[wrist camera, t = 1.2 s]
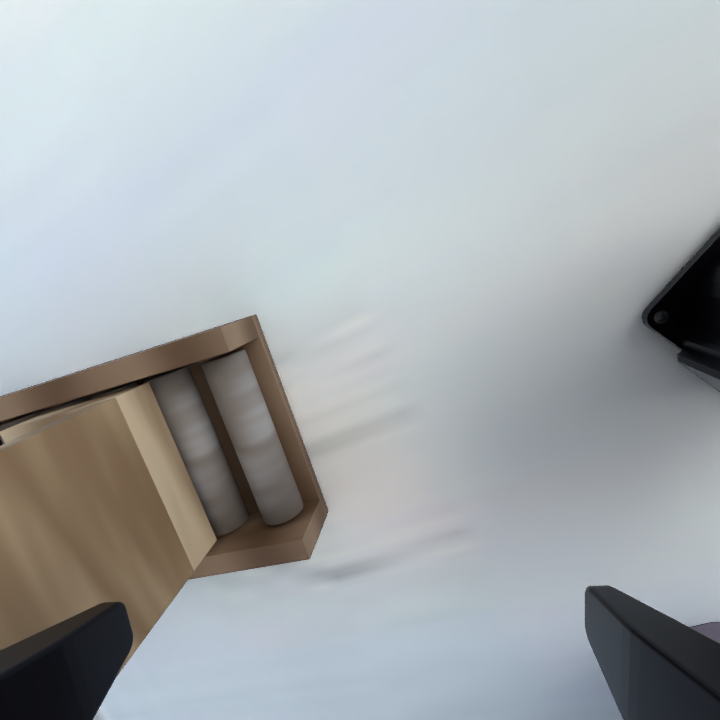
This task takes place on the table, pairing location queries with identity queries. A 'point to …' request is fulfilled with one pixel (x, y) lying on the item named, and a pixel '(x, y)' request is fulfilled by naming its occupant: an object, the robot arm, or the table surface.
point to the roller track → (195, 353)
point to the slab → (95, 515)
